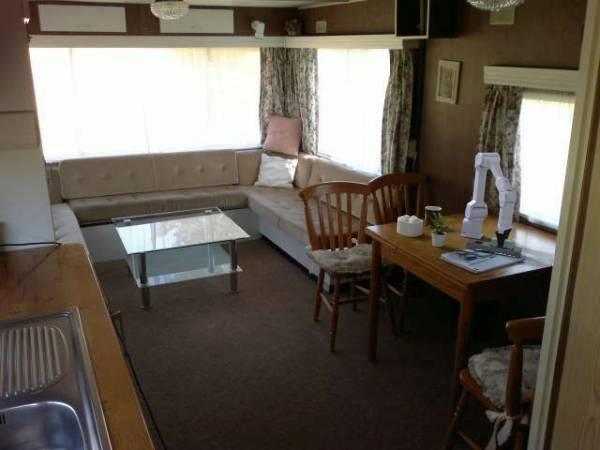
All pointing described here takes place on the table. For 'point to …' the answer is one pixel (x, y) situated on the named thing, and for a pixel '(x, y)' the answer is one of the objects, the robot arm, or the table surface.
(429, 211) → the coffee mug
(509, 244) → the teal rectangular block
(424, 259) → the table surface
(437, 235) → the house plant
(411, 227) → the lumpy-topped squat cylinder
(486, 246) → the rail
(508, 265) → the table surface
